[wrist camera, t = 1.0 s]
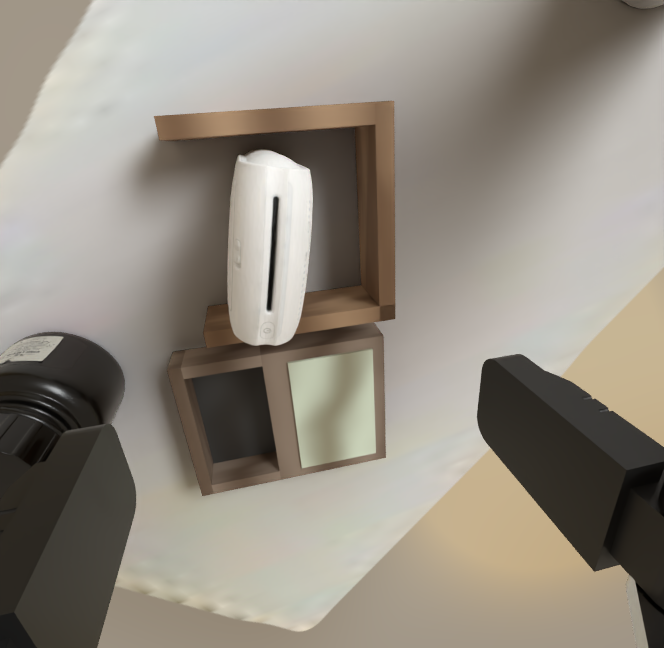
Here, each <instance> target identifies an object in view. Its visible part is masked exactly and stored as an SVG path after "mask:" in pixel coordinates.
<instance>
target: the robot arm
mask: <svg viewBox="0 0 664 648" xmlns="http://www.w3.org/2000/svg"><path fill="white" fill-rule="evenodd" d="M622 1H624V2H625V3H627V4H628V5H630V6H633V7H636V8H640V9H647V8H654V7H657V6H661V5H664V0H622ZM477 421H478V426H479V429H480V432H481V434H482V436H483V438H484V440H485V441H486V443H487V444H488V445H489V446H490V448H491V449H492V450H493V451H494V452H495V454H496V455H497V456H498V457H499V458H500V460H501V461H502V462H503V463H504V464H505V465H506V467H507V468H508V469H509V470H510V471H511V473H512V474H513V475H514V476H515V477H516V479H517V480H518V481H519V482H520V483H521V485H522V486H523V487H524V488H525V489H526V490H527V492H528V493H529V494H530V495H531V496H532V498H533V499H534V500H535V501H536V503H537V504H538V505H539V506H540V507H541V508H542V510H543V511H544V512H545V513H546V514H547V516H548V517H549V518H550V519H551V520H552V522H553V523H554V524H555V525H556V526H557V528H558V529H559V530H560V531H561V532H562V534H563V535H564V536H565V537H566V538H567V540H568V541H569V542H570V543H571V544H572V546H573V547H574V548H575V549H576V550H577V552H578V553H579V554H580V555H581V556H582V558H583V559H584V560H585V561H586V562H587V563H588V565H589V566H590V567H591V568H592V569H593V571H599V570H602V569H605V568H609V567H613V566H616V565H621V566H622V567H623V568H624V569H625V571H626V572H627V573H629V576H628V579H627V583H626V592H627V598H628V603H629V609H630V614H631V620H632V626H633V631H634V636H635V642H636V648H664V447H663V446H661V445H660V444H659V443H657V442H656V441H654V440H653V439H652V438H650V437H649V436H647V435H646V434H644V433H643V432H642V431H640V430H639V429H637V428H636V427H635V426H633V425H632V424H630V423H629V422H627V421H626V420H625V419H623V418H622V417H620V416H619V415H618V414H616V413H615V412H613V411H609V410H608V408H607V407H606V406H605V405H604V404H602V403H601V402H599V401H598V400H596V399H592V398H591V395H589V394H588V393H587V392H585V391H583V390H582V389H581V388H580V387H578V386H577V385H575V384H574V383H572V382H570V381H568V380H566V379H564V378H561V377H559V376H557V375H554V374H552V373H549V372H547V371H544V370H543V369H542V368H540V367H539V366H537V365H536V364H535V363H533V362H532V361H531V360H529V359H528V358H527V357H525V356H523V355H521V354H516V355H510V356H504V357H498V358H492V359H488V360H486V361H485V362H484V364H483V367H482V374H481V383H480V393H479V402H478V411H477ZM135 508H136V490H135V484H134V480H133V477H132V475H131V472H130V469H129V466H128V463H127V461H126V458H125V455H124V452H123V449H122V447H121V444H120V441H119V438H118V436H117V433H116V430H115V429H114V427H113V426H112V425H111V424H103V425H97V426H92V427H86V428H80V429H74V430H68V431H66V432H64V433H63V434H62V436H61V437H60V439H59V440H58V442H57V444H56V445H55V447H54V449H53V450H52V452H51V453H50V455H49V457H48V458H47V460H46V461H45V462H40V463H35V464H34V465H33V466H32V467H31V468H30V469H29V470H28V471H26V472H25V473H24V474H23V475H22V476H21V477H20V478H19V479H17V480H16V481H15V482H14V483H13V484H12V485H11V486H9V488H8V489H7V491H6V492H5V494H4V495H3V497H2V498H1V500H0V648H97V646H98V642H99V639H100V635H101V632H102V628H103V625H104V621H105V617H106V614H107V610H108V607H109V603H110V600H111V596H112V592H113V589H114V585H115V582H116V578H117V575H118V571H119V568H120V564H121V560H122V557H123V553H124V550H125V546H126V543H127V539H128V535H129V532H130V528H131V525H132V521H133V518H134V514H135Z"/></svg>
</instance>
